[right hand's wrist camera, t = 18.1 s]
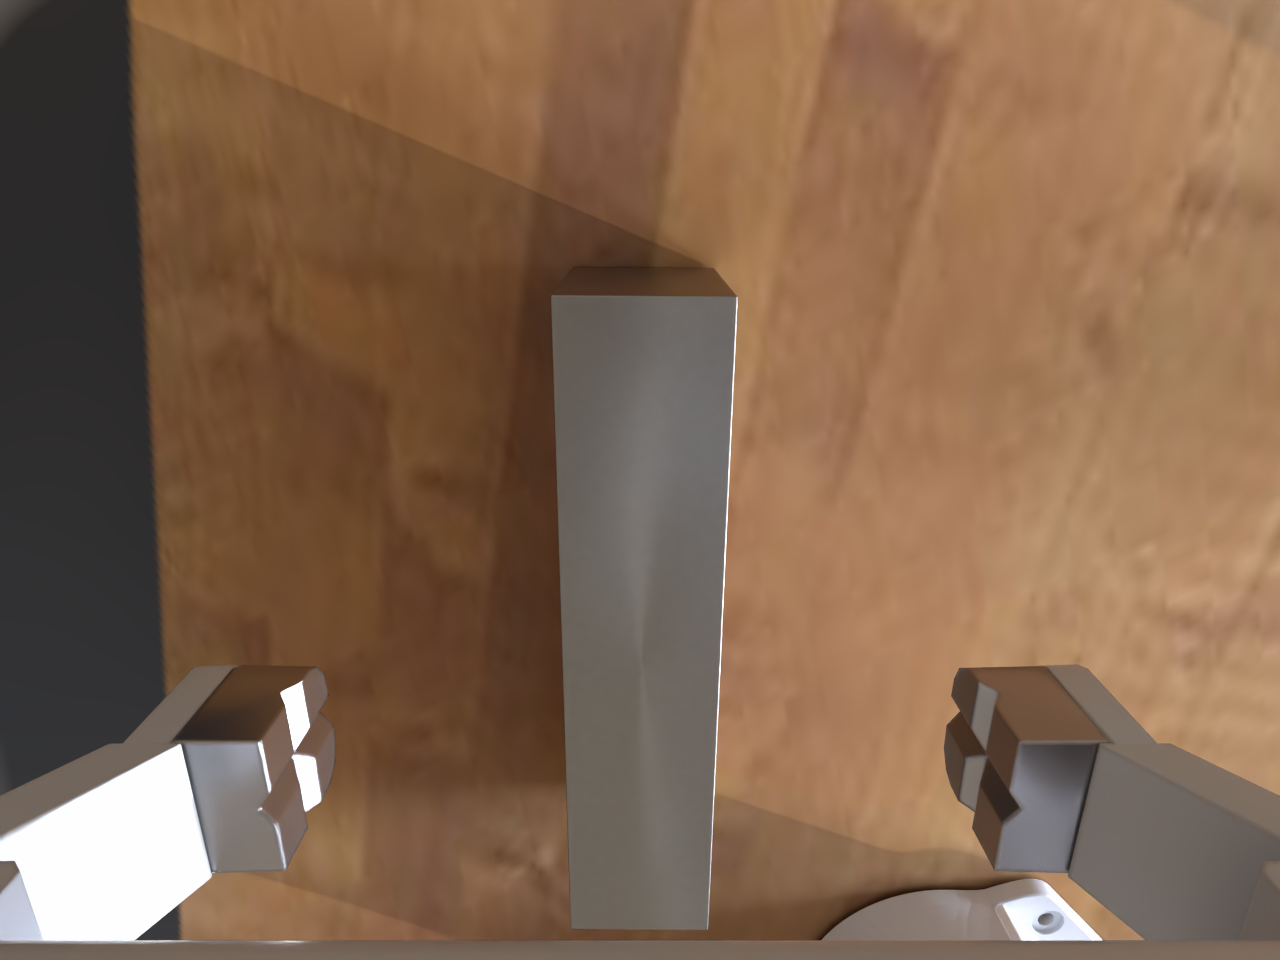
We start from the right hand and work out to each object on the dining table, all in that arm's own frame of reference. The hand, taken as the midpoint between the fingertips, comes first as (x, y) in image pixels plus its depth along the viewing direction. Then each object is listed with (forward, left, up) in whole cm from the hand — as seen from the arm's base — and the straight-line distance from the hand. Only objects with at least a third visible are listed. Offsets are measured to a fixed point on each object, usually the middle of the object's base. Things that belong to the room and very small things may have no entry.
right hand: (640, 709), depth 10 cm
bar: (-6, +8, -25) cm, 27 cm away
